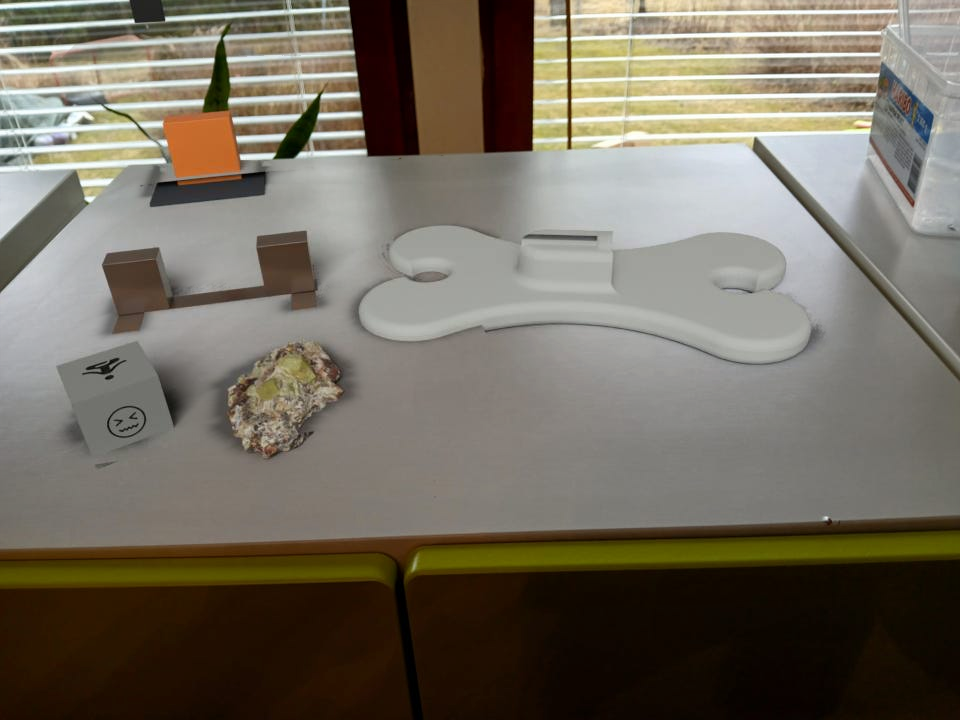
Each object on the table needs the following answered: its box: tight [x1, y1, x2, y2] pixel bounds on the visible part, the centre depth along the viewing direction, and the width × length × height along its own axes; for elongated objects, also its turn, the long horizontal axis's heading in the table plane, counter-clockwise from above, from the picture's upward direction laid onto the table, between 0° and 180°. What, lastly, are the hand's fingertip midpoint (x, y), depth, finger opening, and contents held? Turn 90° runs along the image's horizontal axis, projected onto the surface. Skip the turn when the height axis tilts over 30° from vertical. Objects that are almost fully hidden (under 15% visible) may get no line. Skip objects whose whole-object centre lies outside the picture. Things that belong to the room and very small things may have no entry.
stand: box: [101, 230, 319, 335], centre depth 64 cm, size 8×16×6 cm, turn 102°
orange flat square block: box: [162, 110, 243, 185], centre depth 89 cm, size 3×7×7 cm, turn 102°
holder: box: [358, 224, 813, 365], centre depth 64 cm, size 19×34×5 cm, turn 82°
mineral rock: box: [226, 339, 344, 460], centre depth 53 cm, size 11×4×8 cm
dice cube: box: [55, 340, 175, 470], centre depth 51 cm, size 5×5×5 cm
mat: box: [149, 170, 266, 207], centre depth 91 cm, size 12×12×1 cm
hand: (159, 9), depth 81 cm, fingers open, 13 cm apart
